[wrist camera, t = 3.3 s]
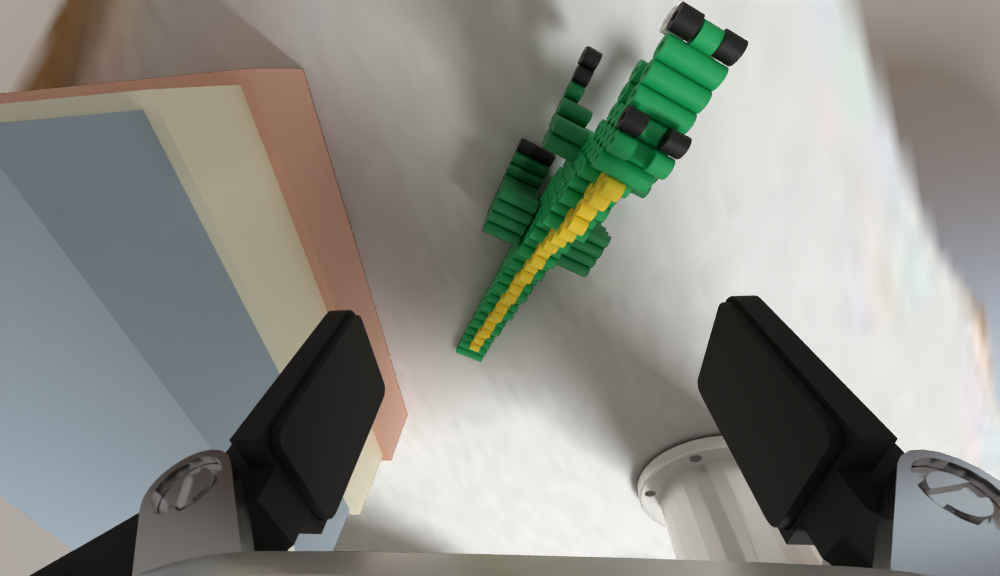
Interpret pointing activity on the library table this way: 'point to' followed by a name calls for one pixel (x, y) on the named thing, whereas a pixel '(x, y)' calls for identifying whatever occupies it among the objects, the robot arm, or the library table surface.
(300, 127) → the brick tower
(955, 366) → the library table surface
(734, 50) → the crocodile
